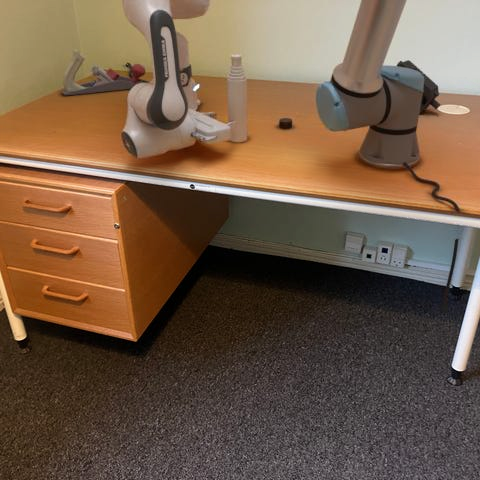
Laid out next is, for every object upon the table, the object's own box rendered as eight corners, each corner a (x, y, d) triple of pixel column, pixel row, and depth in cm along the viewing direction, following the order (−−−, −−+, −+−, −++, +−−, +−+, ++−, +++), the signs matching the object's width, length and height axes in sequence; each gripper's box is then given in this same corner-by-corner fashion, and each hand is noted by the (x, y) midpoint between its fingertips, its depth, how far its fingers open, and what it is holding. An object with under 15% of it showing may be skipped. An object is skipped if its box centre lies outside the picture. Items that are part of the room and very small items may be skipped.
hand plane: (62, 90, 197) (53, 48, 189) (145, 82, 205) (140, 41, 197) (62, 96, 191) (54, 53, 184) (148, 87, 199) (143, 45, 191)
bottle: (245, 134, 156) (244, 52, 143) (249, 141, 151) (248, 57, 139) (227, 136, 155) (224, 53, 143) (230, 143, 150) (228, 58, 138)
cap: (278, 124, 162) (278, 118, 161) (291, 124, 163) (291, 117, 161) (279, 129, 159) (279, 122, 158) (292, 128, 159) (293, 122, 158)
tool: (378, 91, 179) (405, 54, 169) (421, 128, 175) (451, 93, 164) (370, 95, 176) (396, 58, 165) (413, 134, 171) (443, 98, 161)
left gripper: (203, 129, 131) (247, 117, 138) (162, 109, 145) (204, 99, 152) (204, 153, 135) (247, 140, 142) (164, 131, 149) (205, 121, 156)
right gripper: (308, -98, 140) (304, -10, 152) (248, -97, 124) (249, 1, 136) (332, -99, 136) (326, -8, 148) (273, -98, 120) (272, 3, 132)
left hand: (224, 119), depth 147 cm, fingers open, 8 cm apart
